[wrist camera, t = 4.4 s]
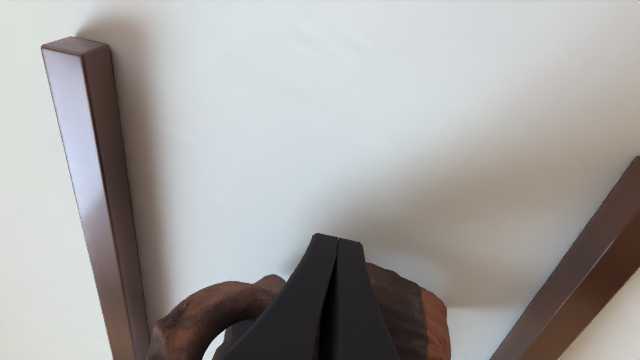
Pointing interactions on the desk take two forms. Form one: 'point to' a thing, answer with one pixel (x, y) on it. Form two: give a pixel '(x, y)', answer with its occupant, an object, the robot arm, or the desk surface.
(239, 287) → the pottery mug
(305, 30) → the desk surface
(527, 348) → the walnut slot
